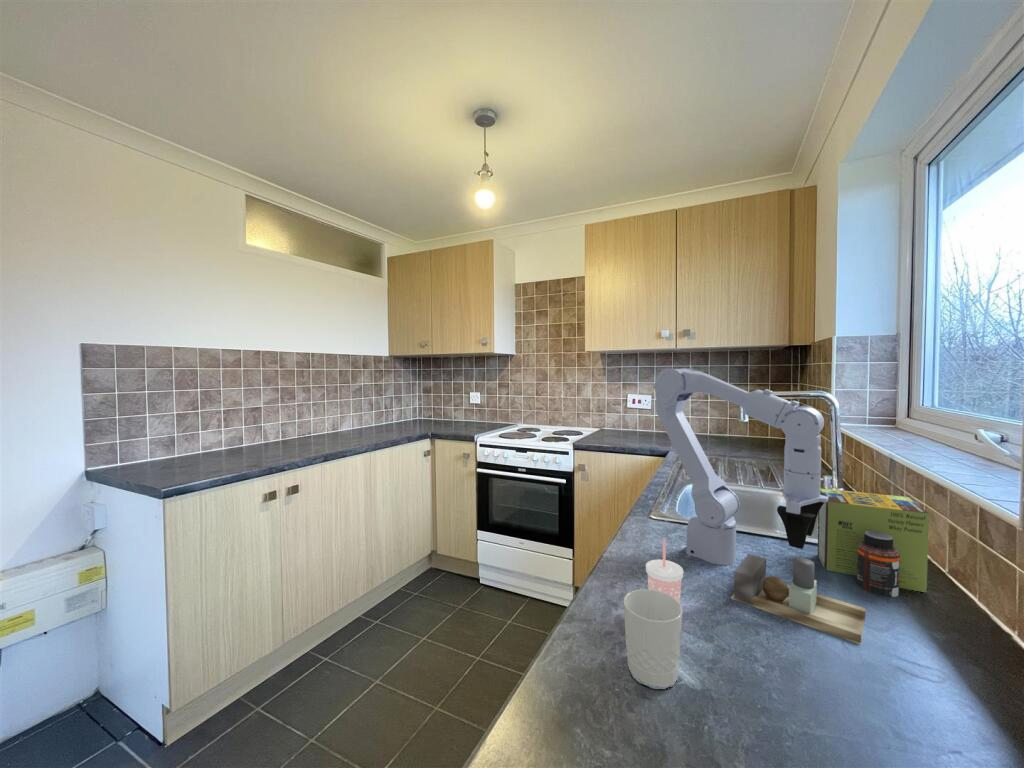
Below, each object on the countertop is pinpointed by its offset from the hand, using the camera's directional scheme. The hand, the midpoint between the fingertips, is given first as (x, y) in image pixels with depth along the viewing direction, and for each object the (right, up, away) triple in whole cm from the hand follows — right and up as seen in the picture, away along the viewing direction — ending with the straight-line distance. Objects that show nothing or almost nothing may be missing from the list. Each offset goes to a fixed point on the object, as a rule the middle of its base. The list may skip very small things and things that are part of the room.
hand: (800, 540), depth 78 cm
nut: (-8, -9, -5) cm, 13 cm away
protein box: (+18, -9, +6) cm, 21 cm away
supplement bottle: (+13, -10, -2) cm, 16 cm away
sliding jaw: (-5, -9, -8) cm, 13 cm away
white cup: (-35, -11, -20) cm, 42 cm away
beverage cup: (-29, -11, -8) cm, 32 cm away
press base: (-6, -10, -7) cm, 13 cm away
